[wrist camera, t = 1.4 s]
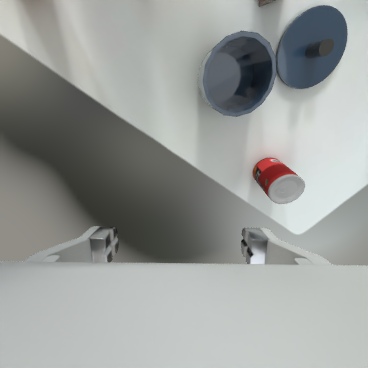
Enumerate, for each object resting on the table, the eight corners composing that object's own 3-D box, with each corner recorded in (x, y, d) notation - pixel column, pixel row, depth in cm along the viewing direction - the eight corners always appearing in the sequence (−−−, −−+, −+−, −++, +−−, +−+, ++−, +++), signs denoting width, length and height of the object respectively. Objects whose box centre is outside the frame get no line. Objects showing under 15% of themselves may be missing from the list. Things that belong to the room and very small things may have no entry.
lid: (273, 22, 35) (288, 13, 30) (347, -5, 33) (375, -19, 28) (275, 96, 41) (288, 98, 36) (338, 77, 40) (359, 76, 35)
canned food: (248, 165, 50) (264, 186, 40) (276, 151, 48) (301, 169, 38) (257, 186, 53) (274, 209, 43) (284, 173, 51) (308, 195, 42)
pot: (191, 54, 37) (195, 47, 29) (252, 33, 35) (274, 18, 27) (205, 116, 43) (211, 124, 35) (257, 99, 41) (277, 104, 33)
